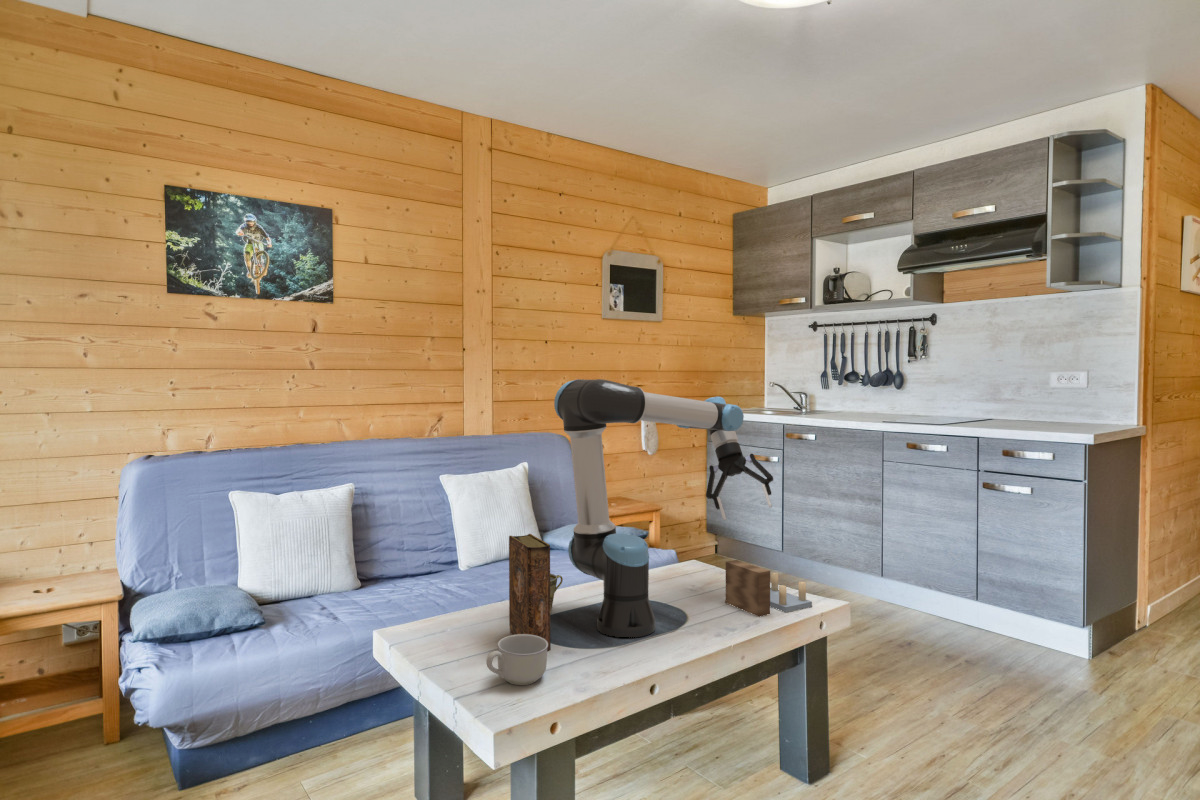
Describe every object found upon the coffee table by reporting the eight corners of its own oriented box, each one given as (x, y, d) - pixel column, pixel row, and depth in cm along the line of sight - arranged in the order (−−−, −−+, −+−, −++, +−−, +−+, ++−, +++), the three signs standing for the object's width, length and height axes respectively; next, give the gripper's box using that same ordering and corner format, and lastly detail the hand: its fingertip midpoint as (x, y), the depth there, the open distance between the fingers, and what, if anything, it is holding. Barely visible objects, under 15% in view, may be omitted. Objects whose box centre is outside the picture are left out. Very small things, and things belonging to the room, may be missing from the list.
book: (552, 651, 164) (552, 546, 163) (530, 655, 161) (530, 548, 161) (529, 629, 178) (529, 532, 178) (509, 632, 176) (508, 534, 176)
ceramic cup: (535, 621, 184) (535, 584, 184) (514, 612, 192) (514, 576, 192) (573, 611, 193) (573, 575, 192) (551, 603, 200) (551, 568, 200)
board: (725, 603, 200) (725, 561, 199) (736, 600, 202) (736, 560, 201) (759, 616, 187) (759, 572, 187) (770, 614, 189) (770, 570, 189)
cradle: (746, 597, 204) (746, 575, 204) (771, 592, 209) (771, 571, 209) (785, 612, 191) (785, 589, 190) (811, 606, 195) (812, 584, 195)
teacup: (536, 665, 155) (536, 630, 155) (556, 683, 146) (556, 646, 145) (476, 678, 148) (476, 641, 148) (493, 698, 139) (493, 658, 139)
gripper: (767, 437, 211) (789, 503, 202) (689, 460, 215) (707, 526, 207) (766, 430, 204) (789, 498, 196) (685, 454, 208) (704, 521, 200)
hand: (747, 512), depth 201 cm, fingers open, 13 cm apart
